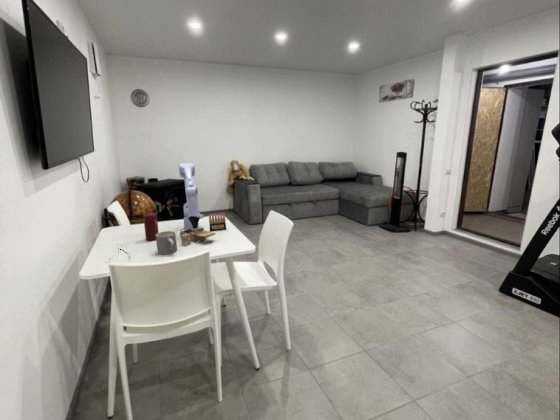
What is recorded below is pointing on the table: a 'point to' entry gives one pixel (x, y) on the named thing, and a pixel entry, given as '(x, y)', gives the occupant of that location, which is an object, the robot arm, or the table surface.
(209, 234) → the lid
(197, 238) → the wooden box
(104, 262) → the table surface
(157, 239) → the coffee mug
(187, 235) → the tan wooden block
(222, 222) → the ammunition clip
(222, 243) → the table surface
